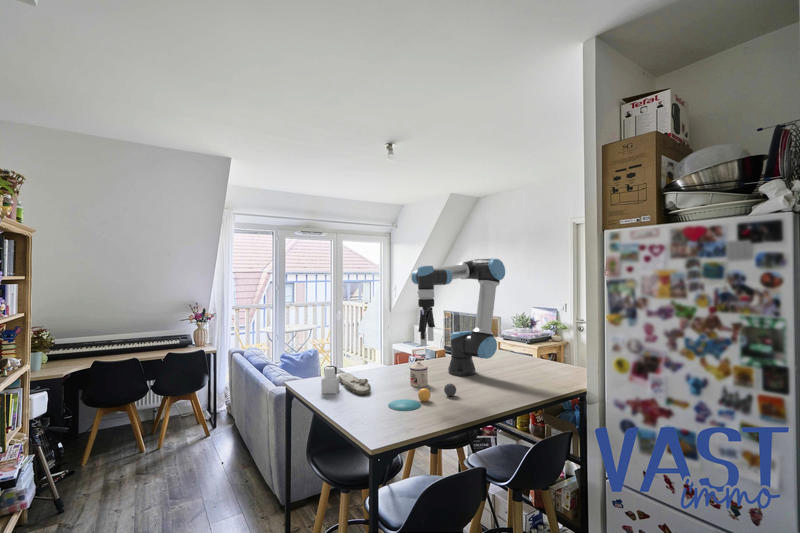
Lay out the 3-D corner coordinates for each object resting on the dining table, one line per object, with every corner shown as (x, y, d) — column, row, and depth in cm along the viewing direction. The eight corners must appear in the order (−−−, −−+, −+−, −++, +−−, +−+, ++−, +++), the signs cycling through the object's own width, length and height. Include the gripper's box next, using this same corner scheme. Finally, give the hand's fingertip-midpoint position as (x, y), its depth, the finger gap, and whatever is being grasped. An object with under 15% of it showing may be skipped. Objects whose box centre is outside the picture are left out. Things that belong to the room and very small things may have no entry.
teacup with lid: (406, 383, 197) (406, 360, 197) (422, 381, 201) (422, 358, 201) (418, 390, 186) (418, 365, 186) (434, 387, 190) (434, 363, 190)
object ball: (426, 398, 174) (426, 386, 174) (433, 401, 169) (432, 389, 169) (415, 400, 171) (415, 387, 171) (422, 403, 166) (422, 391, 166)
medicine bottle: (324, 389, 189) (324, 364, 189) (339, 389, 189) (339, 364, 189) (321, 394, 182) (321, 368, 182) (336, 394, 182) (336, 368, 182)
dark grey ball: (451, 393, 180) (451, 381, 180) (458, 396, 176) (458, 384, 176) (441, 395, 178) (441, 383, 178) (448, 398, 173) (448, 386, 173)
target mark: (410, 397, 175) (410, 397, 175) (427, 407, 162) (427, 406, 162) (382, 403, 168) (382, 402, 168) (398, 413, 156) (398, 412, 156)
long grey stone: (352, 379, 212) (334, 383, 208) (351, 370, 212) (333, 373, 208) (376, 393, 181) (356, 397, 177) (375, 382, 181) (355, 386, 177)
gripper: (425, 296, 196) (426, 338, 195) (411, 300, 172) (412, 348, 172) (439, 296, 193) (440, 339, 193) (427, 300, 169) (428, 348, 169)
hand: (427, 343), depth 182 cm, fingers open, 13 cm apart
